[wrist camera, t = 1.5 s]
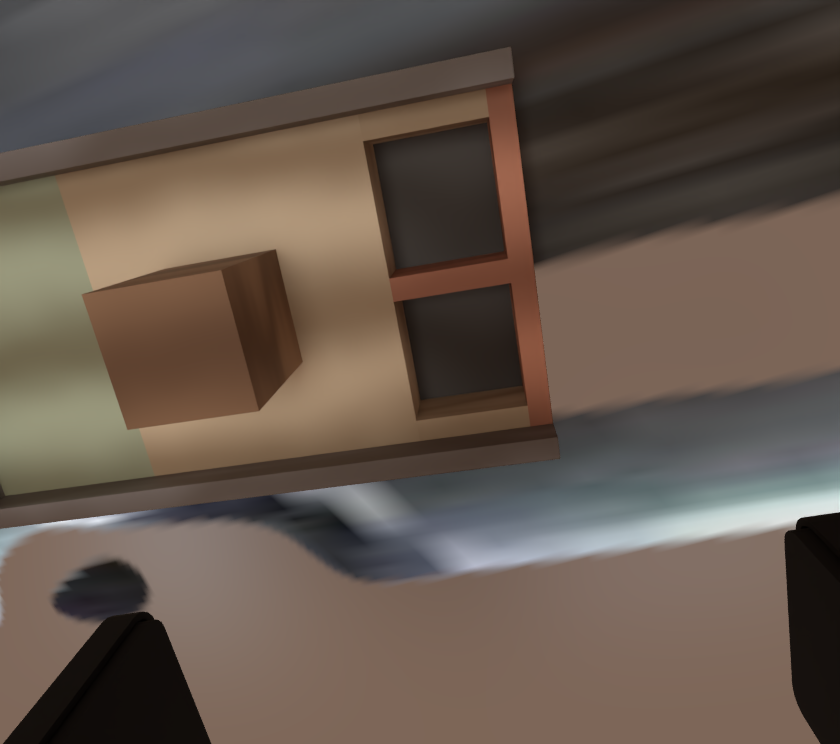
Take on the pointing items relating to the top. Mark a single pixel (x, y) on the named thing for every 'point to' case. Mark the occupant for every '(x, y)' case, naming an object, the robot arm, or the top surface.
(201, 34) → the top surface
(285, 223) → the box
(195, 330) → the walnut block
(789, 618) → the robot arm
